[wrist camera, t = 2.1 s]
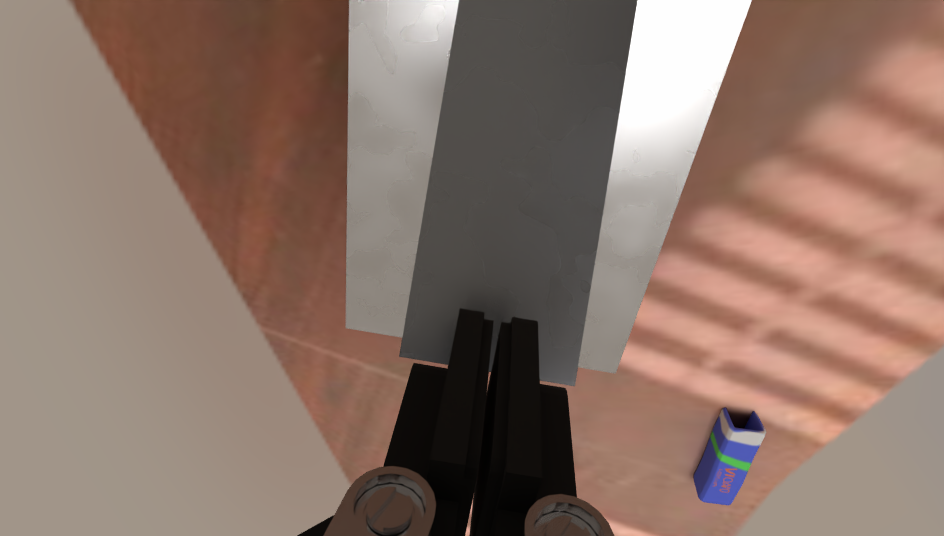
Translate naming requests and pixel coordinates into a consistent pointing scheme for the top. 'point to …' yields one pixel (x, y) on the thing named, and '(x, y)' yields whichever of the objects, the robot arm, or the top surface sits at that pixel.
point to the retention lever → (520, 174)
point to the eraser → (727, 459)
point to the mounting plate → (631, 173)
